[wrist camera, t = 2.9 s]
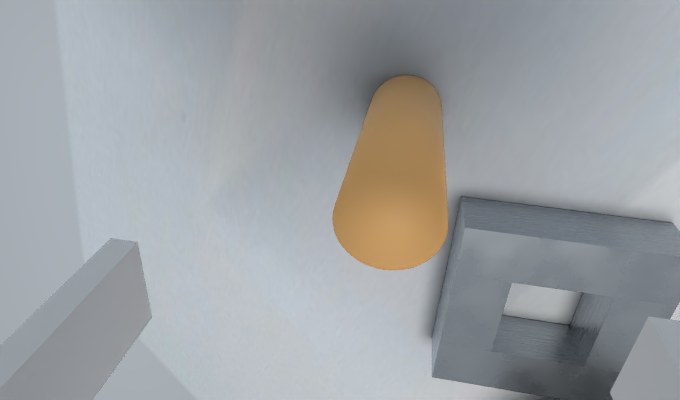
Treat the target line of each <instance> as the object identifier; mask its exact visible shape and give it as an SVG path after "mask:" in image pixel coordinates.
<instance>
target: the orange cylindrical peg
mask: <svg viewBox="0 0 680 400" xmlns="http://www.w3.org/2000/svg"><path fill="white" fill-rule="evenodd" d="M333 227H334V231H335V234H336V236H337V238H338V240H339V242H340V244H341V245H342V246H343V248H344V249H345V250H346V251H347V252H348V253H349V254H350V255H351V256H353V257H354V258H355V259H357V260H358V261H360V262H362V263H364V264H366V265H368V266H371V267H374V268H378V269H383V270H403V269H409V268H413V267H415V266H418V265H420V264H422V263H424V262H426V261H427V260H429V259H430V258H432V257H433V256H434V255H435V254H436V253H437V252H438V251H439V250H440V248H441V247H442V245H443V243H444V241H445V239H446V236H447V232H448V207H447V190H446V172H445V155H444V137H443V120H442V104H441V100H440V97H439V95H438V93H437V91H436V90H435V88H434V87H433V86H432V85H431V84H430V83H429V82H427V81H426V80H424V79H422V78H420V77H417V76H412V75H400V76H396V77H393V78H391V79H389V80H387V81H385V82H384V83H383V84H382V85H381V86H379V88H378V89H377V90H376V92H375V93H374V95H373V98H372V100H371V103H370V106H369V109H368V112H367V115H366V117H365V120H364V123H363V126H362V129H361V132H360V135H359V137H358V140H357V143H356V146H355V149H354V152H353V155H352V158H351V160H350V163H349V166H348V169H347V172H346V175H345V178H344V180H343V183H342V186H341V189H340V192H339V195H338V198H337V200H336V203H335V207H334V210H333Z"/></svg>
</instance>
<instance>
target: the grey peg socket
mask: <svg viewBox="0 0 680 400" xmlns="http://www.w3.org/2000/svg"><path fill="white" fill-rule="evenodd" d="M512 282H513V283H520V284H527V285H534V286H541V287H548V288H555V289H562V290H569V291H576V292H583V295H582V297H581V300H580V302H579V304H578V307H577V309H576V312H575V314H574V317H573V319H572V322H571V324H570V326H569V325H562V324H555V323H549V322H542V321H536V320H529V319H523V318H516V317H510V316H503V315H502V313H503V310H504V306H505V303H506V300H507V297H508V293H509V290H510V287H511V283H512ZM679 302H680V231H679V230H678V229H677V228H676V226H675V225H674V224H673V223H668V222H660V221H652V220H644V219H636V218H628V217H620V216H612V215H604V214H596V213H588V212H580V211H572V210H564V209H556V208H548V207H540V206H532V205H524V204H516V203H508V202H500V201H492V200H484V199H476V198H468V197H461V202H460V207H459V211H458V216H457V221H456V226H455V230H454V235H453V240H452V245H451V250H450V254H449V259H448V264H447V269H446V274H445V278H444V283H443V288H442V293H441V297H440V302H439V307H438V312H437V317H436V321H435V326H434V331H433V336H432V377H434V378H440V379H446V380H452V381H458V382H464V383H469V384H475V385H481V386H487V387H493V388H499V389H505V390H511V391H516V392H522V393H528V394H534V395H540V396H546V397H552V398H558V399H564V400H613V399H612V396H611V394H610V391H611V389H612V387H613V385H614V383H615V381H616V379H617V377H618V375H619V373H620V371H621V369H622V367H623V365H624V363H625V362H626V360H627V358H628V356H629V354H630V352H631V350H632V348H633V346H634V344H635V342H636V340H637V338H638V336H639V334H640V332H641V330H642V328H643V326H644V324H645V322H646V320H647V318H648V316H650V317H657V318H664V319H670V318H671V316H672V314H673V313H674V311H675V309H676V307H677V305H678V303H679Z"/></svg>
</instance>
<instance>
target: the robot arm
mask: <svg viewBox="0 0 680 400" xmlns="http://www.w3.org/2000/svg"><path fill="white" fill-rule="evenodd" d="M151 318H152V315H151V310H150V304H149V299H148V294H147V289H146V284H145V279H144V273H143V268H142V263H141V258H140V253H139V248H138V242H134V241H127V240H120V239H113V238H111V239H110V240H109V241H108V242H107V243H106V244H105V245H104V246H103V247H102V248H101V249H99V250H98V251H97V252H96V253H95V254H94V255H93V256H92V257H91V258H90V259H89V260H88V261H87V262H86V263H85V264H84V265H83V266H82V267H81V268H80V269H79V270H78V271H77V272H76V273H75V274H74V275H73V276H72V277H71V278H70V279H69V280H68V281H66V282H65V283H64V284H63V286H61V287H60V288H59V289H58V290H57V291H56V292H55V293H54V294H53V295H52V296H51V297H50V298H49V299H48V300H47V301H46V302H45V303H44V304H43V305H42V306H41V307H40V308H39V309H38V310H36V311H35V312H34V313H33V314H32V315H31V316H30V317H29V318H28V319H27V320H26V321H25V322H24V323H23V324H22V325H21V326H20V327H19V328H18V329H17V330H16V331H15V332H14V333H13V334H12V335H11V336H10V337H9V338H8V339H6V341H4V342H3V344H1V345H0V400H93V399H94V397H95V396H96V395H97V393H98V392H99V390H100V389H101V388H102V386H103V385H104V383H105V382H106V381H107V379H108V378H109V377H110V375H111V374H112V372H113V371H114V370H115V368H116V367H117V365H118V364H119V363H120V361H121V360H122V358H123V357H124V356H125V354H126V353H127V351H128V350H129V348H130V347H131V346H132V344H133V343H134V342H135V340H136V339H137V337H138V336H139V335H140V333H141V332H142V330H143V329H144V328H145V326H146V325H147V323H148V322H149V321H150V319H151ZM610 394H611V396H612V399H613V400H680V321H677V320H670V319H664V318H657V317H650V316H648V318H647V320H646V322H645V324H644V326H643V328H642V330H641V332H640V334H639V336H638V338H637V340H636V342H635V344H634V346H633V348H632V350H631V352H630V354H629V356H628V358H627V360H626V362H625V363H624V365H623V367H622V369H621V371H620V373H619V375H618V377H617V379H616V381H615V383H614V385H613V387H612V389H611V391H610Z"/></svg>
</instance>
